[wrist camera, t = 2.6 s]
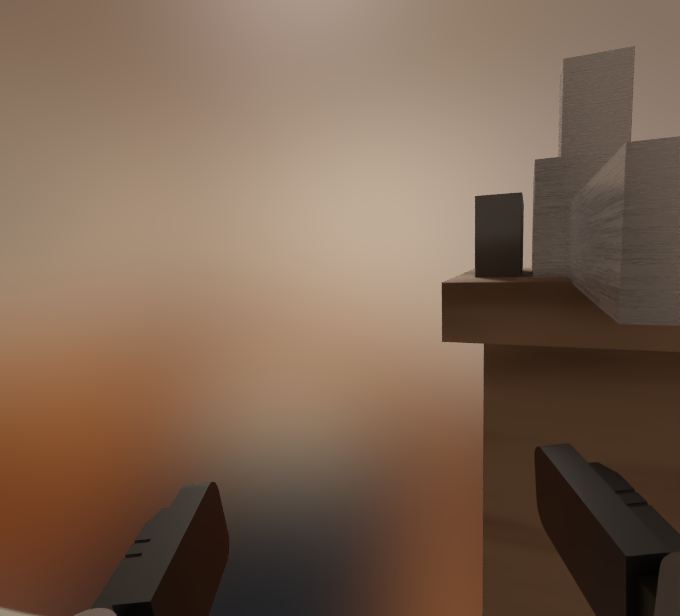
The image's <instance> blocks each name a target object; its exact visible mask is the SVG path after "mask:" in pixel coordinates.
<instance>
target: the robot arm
mask: <svg viewBox="0 0 680 616" xmlns="http://www.w3.org/2000/svg"><path fill="white" fill-rule="evenodd" d="M534 459H535V480H536V501H537V508H538V513H539V517H540V520H541V523H542V525H543V528H544V530H545V531H546V533H547V535H548V537H549V538H550V540H551V542H552V543H553V545H554V547H555V548H556V550H557V552H558V553H559V555H560V557H561V558H562V560H563V562H564V563H565V565H566V567H567V568H568V570H569V572H570V573H571V575H572V577H573V578H574V580H575V582H576V583H577V585H578V587H579V588H580V590H581V592H582V593H583V595H584V597H585V598H586V600H587V602H588V603H589V605H590V607H591V608H592V610H593V612H594V613H595V615H596V616H680V534H679V533H678V532H677V531H676V530H675V529H674V528H673V527H672V526H671V525H670V524H669V523H668V522H667V521H666V520H665V519H664V518H663V517H662V516H661V515H660V514H659V513H658V512H657V511H656V510H655V509H654V508H653V507H652V506H651V505H648V503H647V501H646V500H645V499H644V498H643V497H642V496H641V495H640V494H639V493H638V492H635V489H634V488H633V487H632V486H631V485H630V484H629V483H628V482H627V481H626V480H625V479H624V478H623V477H622V476H621V475H620V474H619V473H617V472H615V471H613V470H612V469H610V468H608V467H606V466H604V465H602V464H600V463H599V462H591V463H588V462H587V461H586V460H585V459H584V458H583V457H582V456H581V455H580V454H579V453H578V452H577V451H576V449H575V448H574V447H573V446H572V445H571V444H569V443H564V444H555V445H546V446H538V447H536V448H535V453H534ZM228 555H229V535H228V530H227V525H226V521H225V517H224V512H223V507H222V503H221V498H220V494H219V490H218V487H217V485H216V483H215V482H208V483H199V484H190V485H184V486H183V487H182V488H181V490H180V491H179V493H178V495H177V497H176V498H175V500H174V502H173V503H172V505H171V507H170V508H163V509H162V510H160V511H159V512H158V513H157V514H156V515H155V516H154V517H153V518H152V519H150V520H149V521H148V522H147V523H146V524H145V525H144V527H143V528H142V530H141V532H140V533H139V535H138V536H137V538H136V539H135V543H134V544H132V546H131V547H130V548H129V550H128V552H127V553H126V557H125V558H124V559H122V561H121V563H120V564H119V566H118V567H117V569H116V570H115V572H114V573H113V575H112V576H111V578H110V580H109V581H108V583H107V585H106V586H105V587H104V589H103V591H102V592H101V594H100V595H99V597H98V598H97V600H96V601H95V603H94V604H93V606H92V608H91V609H90V610H86V611H84V612H81V613H79V614H76V615H74V616H209V612H210V610H211V607H212V604H213V601H214V598H215V595H216V592H217V590H218V587H219V584H220V581H221V578H222V575H223V572H224V569H225V566H226V563H227V560H228Z"/></svg>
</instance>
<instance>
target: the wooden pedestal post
mask: <svg viewBox="0 0 680 616" xmlns="http://www.w3.org/2000/svg"><path fill="white" fill-rule="evenodd" d="M523 210H524V205H523V196H522V193H509V194H497V195H484V196H475V269H473V270H471V271H469V272H466V273H464V274H462V275H459V276H456V277H454V278H452V279H449V280H447V281H445V282H442V342H462V343H484V435H483V436H484V437H483V442H484V443H483V444H484V445H483V616H596V615H595V613H594V612H593V610H592V608H591V607H590V605H589V603H588V602H587V600H586V598H585V597H584V595H583V593H582V592H581V590H580V588H579V587H578V585H577V583H576V582H575V580H574V578H573V577H572V575H571V573H570V572H569V570H568V568H567V567H566V565H565V563H564V562H563V560H562V558H561V557H560V555H559V553H558V552H557V550H556V548H555V547H554V545H553V543H552V542H551V540H550V538H549V537H548V535H547V533H546V531H545V530H544V528H543V525H542V523H541V520H540V517H539V513H538V508H537V501H536V480H535V459H534V453H535V448H536V447H538V446H546V445H555V444H564V443H569V444H571V445H572V446H573V447H574V448H575V449H576V451H577V452H578V453H579V454H580V455H581V456H582V457H583V458H584V459H585V460H586V461H587V462H588V463H591V462H599V463H600V464H602V465H604V466H606V467H608V468H610V469H612V470H613V471H615V472H617V473H619V474H620V475H621V476H622V477H623V478H624V479H625V480H626V481H627V482H628V483H629V484H630V485H631V486H632V487H633V488H634V489H635V492H638V493H639V494H640V495H641V496H642V497H643V498H644V499H645V500H646V501H647V503H648V505H651V506H652V507H653V508H654V509H655V510H656V511H657V512H658V513H659V514H660V515H661V516H662V517H663V518H664V519H665V520H666V521H667V522H668V523H669V524H670V525H671V526H672V527H673V528H674V529H675V530H676V531H677V532H678V533H679V534H680V326H672V325H632V324H618V323H617V322H615V321H614V320H613V319H612V318H611V317H610V316H609V315H607V314H606V313H605V312H604V311H603V310H602V309H600V308H599V307H598V306H597V305H596V304H595V303H594V302H592V301H591V300H590V299H589V298H588V297H587V296H586V295H584V294H583V293H582V292H581V291H580V290H579V289H577V288H576V287H575V286H574V285H573V284H572V283H571V282H569V281H568V280H567V279H566V278H533V274H532V268H523Z"/></svg>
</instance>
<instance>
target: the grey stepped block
mask: <svg viewBox="0 0 680 616" xmlns="http://www.w3.org/2000/svg"><path fill="white" fill-rule="evenodd" d="M634 55H635V46H634V47H628V48H622V49H616V50H611V51H605V52H600V53H594V54H589V55H583V56H578V57H572V58H566V59H563V64H562V70H561V75H560V109H559V110H560V111H559V150H558V151H559V152H558V153H559V154H558V157H556V158H546V159H537V160H535V168H534V182H533V236H532V238H533V240H532V274H533V278H566V279H567V280H568V281H569V282H571V283H572V284H573V285H574V286H575V287H576V288H577V289H579V290H580V291H581V292H582V293H583V294H584V295H586V296H587V297H588V298H589V299H590V300H591V301H592V302H594V303H595V304H596V305H597V306H598V307H599V308H600V309H602V310H603V311H604V312H605V313H606V314H607V315H609V316H610V317H611V318H612V319H613V320H614V321H615V322H617V323H618V324H632V325H672V326H680V137H671V138H661V139H652V140H643V141H634V142H631V125H632V102H633V79H634V78H633V77H634Z"/></svg>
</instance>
